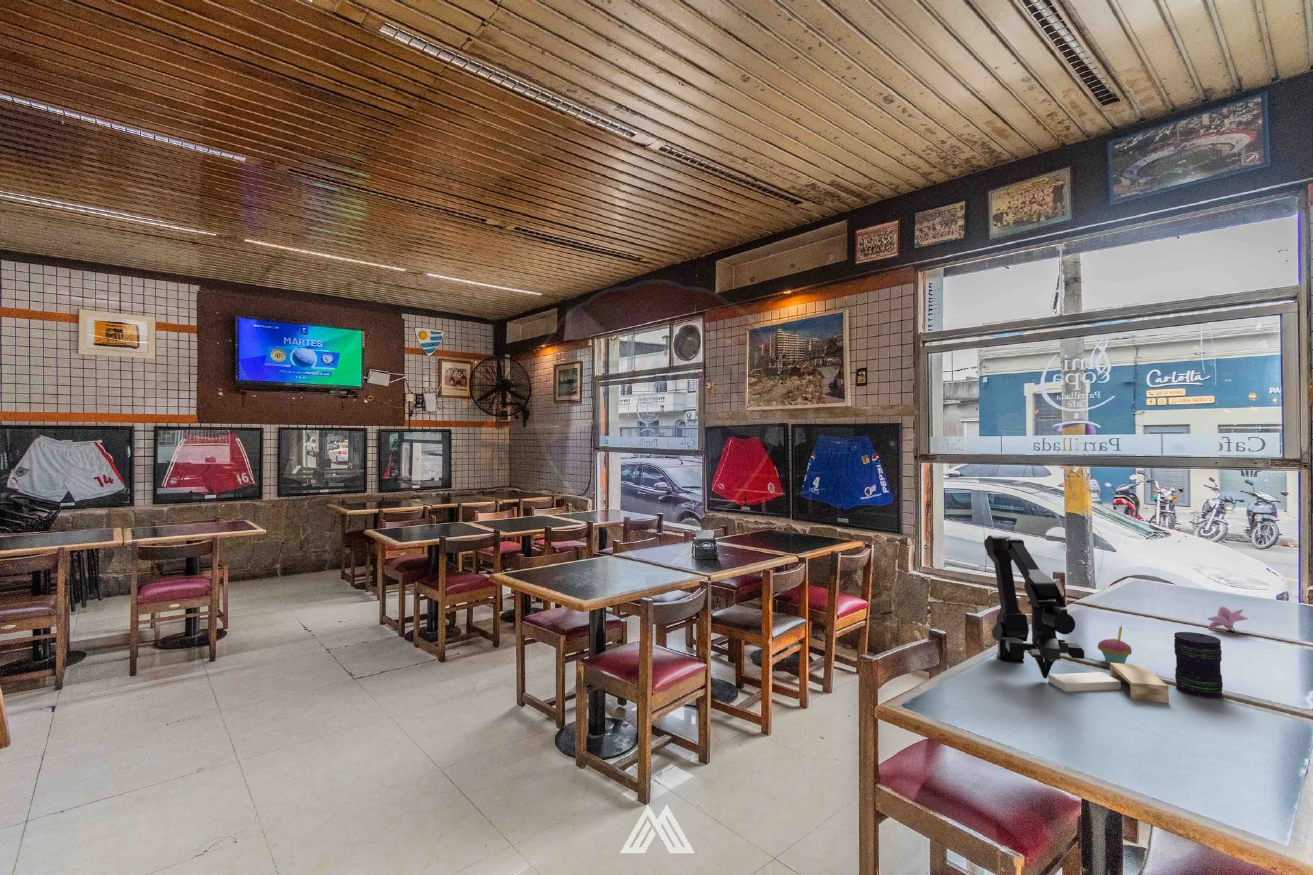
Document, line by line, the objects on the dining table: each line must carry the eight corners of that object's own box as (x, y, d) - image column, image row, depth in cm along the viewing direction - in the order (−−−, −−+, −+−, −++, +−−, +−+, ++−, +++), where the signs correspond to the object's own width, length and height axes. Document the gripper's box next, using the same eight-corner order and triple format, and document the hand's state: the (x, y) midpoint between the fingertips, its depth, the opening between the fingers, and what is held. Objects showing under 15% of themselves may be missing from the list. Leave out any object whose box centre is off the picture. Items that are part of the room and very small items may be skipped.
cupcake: (1126, 659, 195) (1124, 621, 195) (1137, 668, 187) (1135, 629, 187) (1094, 656, 198) (1093, 619, 198) (1103, 665, 190) (1102, 626, 190)
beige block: (1132, 699, 165) (1132, 682, 165) (1110, 677, 180) (1109, 662, 180) (1168, 702, 162) (1168, 685, 163) (1143, 680, 178) (1142, 665, 178)
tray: (1065, 692, 171) (1065, 683, 171) (1048, 682, 178) (1048, 674, 178) (1120, 690, 172) (1120, 681, 172) (1101, 680, 179) (1101, 672, 179)
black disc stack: (1212, 701, 163) (1211, 645, 163) (1168, 689, 171) (1166, 635, 172) (1230, 694, 167) (1228, 638, 167) (1185, 682, 176) (1184, 629, 176)
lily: (1256, 636, 218) (1242, 609, 223) (1258, 630, 210) (1243, 602, 214) (1213, 642, 224) (1201, 615, 229) (1214, 636, 216) (1200, 609, 221)
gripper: (1012, 629, 174) (1014, 684, 174) (1090, 634, 168) (1091, 692, 168) (1004, 618, 185) (1006, 670, 185) (1077, 623, 179) (1079, 677, 178)
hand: (1044, 677), depth 179 cm, fingers closed
